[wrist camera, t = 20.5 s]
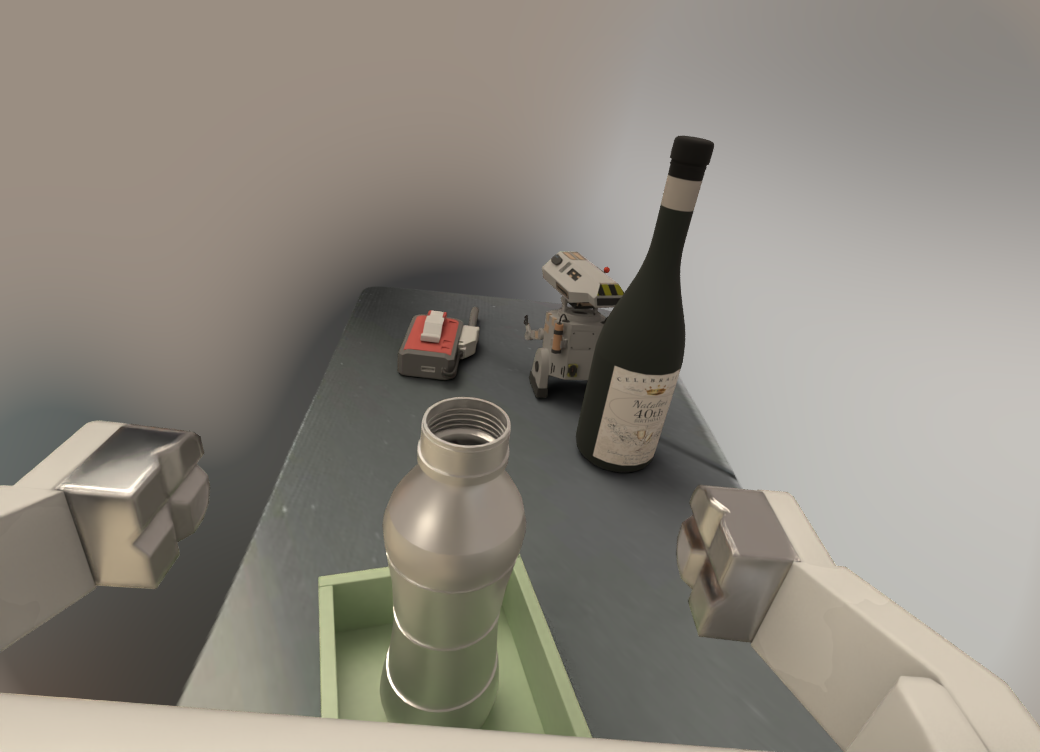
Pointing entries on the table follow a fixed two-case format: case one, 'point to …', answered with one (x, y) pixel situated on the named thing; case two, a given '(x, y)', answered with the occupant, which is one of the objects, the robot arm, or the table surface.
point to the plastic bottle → (450, 567)
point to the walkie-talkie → (437, 345)
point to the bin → (366, 639)
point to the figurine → (571, 320)
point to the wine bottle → (644, 333)
